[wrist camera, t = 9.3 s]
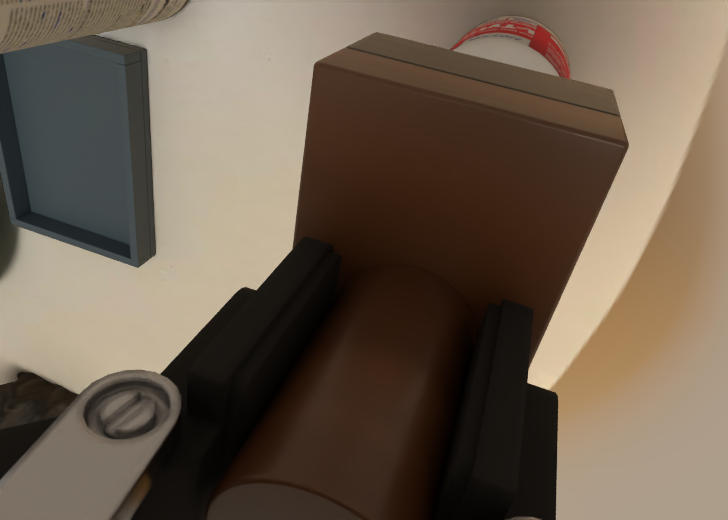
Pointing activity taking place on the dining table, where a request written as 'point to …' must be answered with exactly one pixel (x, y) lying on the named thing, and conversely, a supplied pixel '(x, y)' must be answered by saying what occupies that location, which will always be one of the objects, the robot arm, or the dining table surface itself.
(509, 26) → the pill bottle
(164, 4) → the spray can
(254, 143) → the dining table surface
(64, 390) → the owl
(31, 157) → the tray
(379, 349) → the rubber stamp
